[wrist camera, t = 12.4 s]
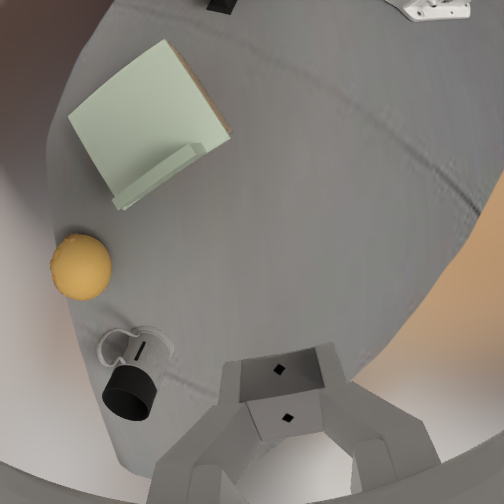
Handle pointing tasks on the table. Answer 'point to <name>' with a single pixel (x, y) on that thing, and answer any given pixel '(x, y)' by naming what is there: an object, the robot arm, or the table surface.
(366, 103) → the table surface
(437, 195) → the table surface
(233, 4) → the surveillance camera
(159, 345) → the glass holder
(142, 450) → the table surface
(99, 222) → the table surface
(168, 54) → the lid
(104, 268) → the stress ball
